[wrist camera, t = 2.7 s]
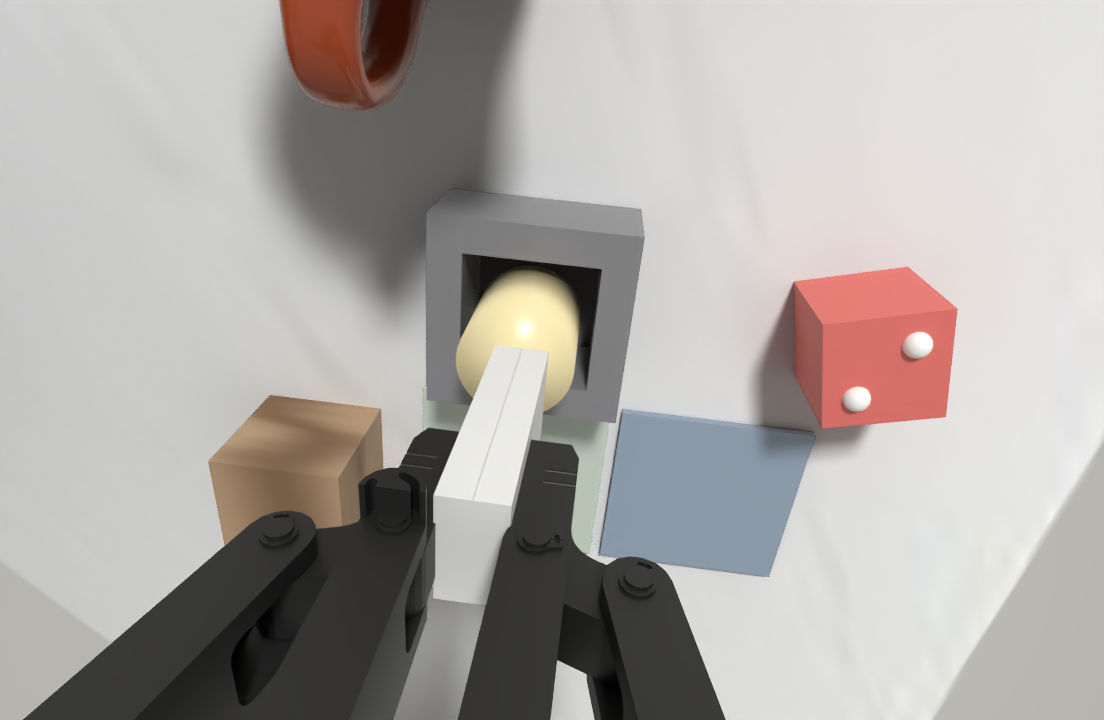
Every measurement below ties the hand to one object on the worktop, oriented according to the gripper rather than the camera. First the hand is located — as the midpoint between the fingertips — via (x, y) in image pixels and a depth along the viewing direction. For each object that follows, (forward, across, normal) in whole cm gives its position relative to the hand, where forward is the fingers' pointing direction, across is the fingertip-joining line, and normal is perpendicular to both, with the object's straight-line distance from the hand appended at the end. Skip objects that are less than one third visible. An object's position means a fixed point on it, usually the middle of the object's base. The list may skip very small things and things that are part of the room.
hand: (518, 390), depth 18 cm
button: (+5, 0, 0) cm, 5 cm away
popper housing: (+8, 0, 0) cm, 8 cm away
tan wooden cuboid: (+8, -9, -9) cm, 15 cm away
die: (+8, +12, 0) cm, 14 cm away
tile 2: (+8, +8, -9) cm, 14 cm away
